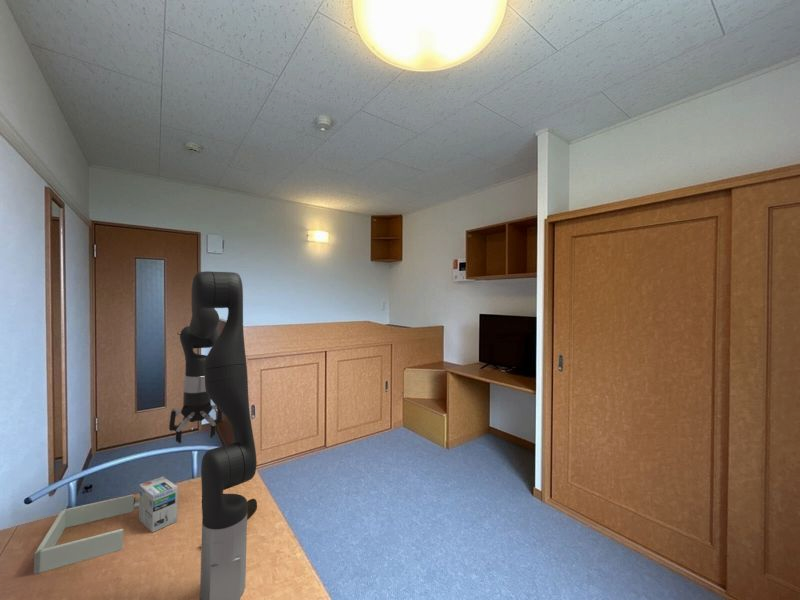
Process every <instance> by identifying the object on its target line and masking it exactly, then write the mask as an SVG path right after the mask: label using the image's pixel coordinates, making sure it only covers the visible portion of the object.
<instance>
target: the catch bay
mask: <svg viewBox="0 0 800 600" xmlns="http://www.w3.org/2000/svg"><path fill="white" fill-rule="evenodd" d="M134 497H135V494H129V495H124V496H120V497H115V498H110V499H106V500H101V501H96V502H91V503H86V504H82V505H78V506H73V507H69V508H64V509H61V511H60V512H59V514H58V515H57V517H56V519H55V520H54V522H53V524H52V525H51V526H50V529H49V530H48V531H47V533H46V535H45V536H44V538H43V539H42V541H41V542H40V544H39V546H38V548H37V549H36V551H35V552H34V559H33V561H34V564H33V566H34V567H33V575H36V574H40V573H45V572H48V571H51V570H54V569H59V568H61V567H65V566H68V565H72V564H76V563H79V562H83V561H86V560H90V559H93V558H96V557H100V556H103V555H108V554H111V553H115V552H119V551H122V550H123V546H124V545H123V543H124V528H120V529H115V530H112V531H108V532H104V533H100V534H97V535H94V536H89V537H85V538H81V539H77V540H73V541H69V542H64V543H62V544H58V545H57V543H58V542H59V540H60V537H61V535H62V534H63V533H64V531H65V529H66V528H71V527H74V526H78V525H83V524H87V523H92V522H95V521H96V522H97V521H99V520H105V519H109V518H112V517H116V516H121V515H125V514H129V513H133V512H134V507H133V503H134ZM81 509H83V510H81Z"/></svg>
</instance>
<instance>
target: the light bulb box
mask: <svg viewBox="0 0 800 600" xmlns="http://www.w3.org/2000/svg"><path fill="white" fill-rule="evenodd" d="M178 490H179V486H178V485H177V484H176V483H174V482H172V481H170V480H169V479H168V478H166V477H165V476H160V477H157V478H154V479H151V480H149V481H145V482H142V483H140V484H139V496H138V497H139V508H138V520H139V521H140V522H141V523H142V524H143V525H144V526H145V527H146V528H147V529H148V530H149V531H150V532H151V533H154V532H156V531H159V530H161V529H164V528H165V527H168V526H169V525H172V524H174V523H177V522H178V499H179V498H178V497H179V496H178V495H179V491H178Z"/></svg>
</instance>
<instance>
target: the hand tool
mask: <svg viewBox="0 0 800 600" xmlns="http://www.w3.org/2000/svg"><path fill="white" fill-rule="evenodd" d="M247 503H248V510H247V521H248V520H250V518H252V516H253V515H254V514H255V513H256V511H257V509H258V502H257V499H255V498H250V499H248V500H247Z"/></svg>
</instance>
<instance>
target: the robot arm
mask: <svg viewBox="0 0 800 600" xmlns="http://www.w3.org/2000/svg"><path fill="white" fill-rule="evenodd" d="M243 288H244V287H243V281H242V278H241V276H240V274H239V273H238V272H231V271H230V272H229V271H209V270H207V271H199V272H196V274H195V275H194V277H193V279H192V283H191V319H190V324H189V325H188V326H185V327H184V328H182V329H181V331H180V334H179V341H180V343H181V346H182V349H183V354H184V358H185V376H184V380H183V398H182V399H183V404H182V408H180V409H175V408H171V410H170V415H169V416H170V417H169V418H170V419H169V425H168V426H169V427H168V429H169V431H171V432H172V431H173V432H174V431H175V442H177V443H178V444H182V435H183V433H182V432H183V431H182V430H183V429H184V427H185V426H186V425H188V423H189V422H190V423H194V422H201V421H203V420H205V421H207V422H208V423H209V438H210V439H212V438H214V437H213V436H215V435H216V425H218V424H221V423H222V422H223V415H224V416H225V417H226V419H227V421H228V423H229V424H230V428H231V430H232V435H233V441H234V442H232V443H229V444H224V445H221V446H218V447H215V448H211V449H208V450H207V451H205V452H204V455H203V456H202V460H201V465H200V466H201V467H200V468H201V469H200V470H201V471H200V475H201V476H200V477H201V481H200V482H201V515H202V516H201V517H202V518H201V519H202V521H201V523H202V524H201V543H200V544H201V545H200V546H201V547H200V548H201V550H200V551H201V552H200V553H201V555H200V578H199V579H200V583H199V584H200V585H199V586H200V587H199V589H200V590H199V600H241V597H242V595H243V594H244V592H245V589H246V574H247V572H246V571H247V570H246V569H247V567H246V566H247V537H248V535H247V534H248V533H247V532H248V531H247V530H248V520H247V510H248V503H247V501H248V500H247V498H246V497H245V496H243V495H241V494H238V493H224V491H225V490H227V489H231V488H234V487H236V486H239V485H241V484H244V483H247V482H249V481H251V480H252V479H253V478H254V477H255V476H256V471H257V464H258V463H257V452H256V444H255V440H254V439H255V438H254V432H253V427H252V418H251V412H250V411H251V410H250V401H249V400H250V399H249V383H248V382H249V379H248V365H247V355H246V346H245V335H244V289H243ZM216 309H227V317H226V321H225V324H224V326H223V329H222V330H221V332H220V334H219V331H218V329H217V327H218V326H219V323H220V315H219V313H218V311H217V310H216ZM208 348H210V350H209V352H208V353H207V355H206V354H198V353H196V352H195V351H194V349H208ZM212 402H213V404H212ZM212 410H214V412H216V419H214V418H213V417H212V416H211V415H210V413H211V411H212ZM179 415H182V416H183V418H182V419H181V420H180V422H179V423H178V424H176V423H175V422H176V418H177V417H179Z"/></svg>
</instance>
